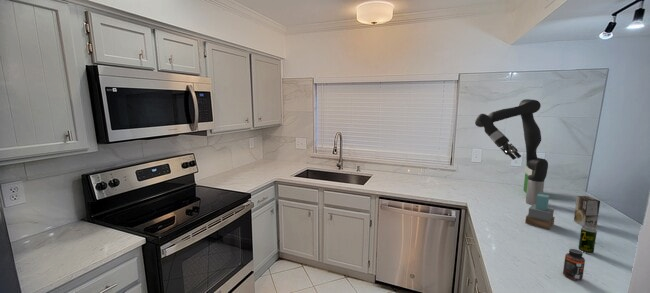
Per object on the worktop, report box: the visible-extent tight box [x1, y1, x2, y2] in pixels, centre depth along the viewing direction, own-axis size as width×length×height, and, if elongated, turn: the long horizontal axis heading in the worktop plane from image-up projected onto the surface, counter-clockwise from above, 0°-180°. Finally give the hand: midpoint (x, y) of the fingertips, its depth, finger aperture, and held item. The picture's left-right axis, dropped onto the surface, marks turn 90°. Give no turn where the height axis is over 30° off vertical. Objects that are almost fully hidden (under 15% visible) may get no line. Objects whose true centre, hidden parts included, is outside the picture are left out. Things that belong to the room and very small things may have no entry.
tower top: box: [527, 204, 555, 222], centre depth 159 cm, size 10×10×5 cm
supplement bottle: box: [562, 248, 586, 281], centre depth 110 cm, size 6×6×11 cm
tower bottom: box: [524, 214, 555, 231], centre depth 160 cm, size 11×11×5 cm
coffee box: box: [573, 195, 601, 229], centre depth 158 cm, size 9×6×16 cm
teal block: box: [536, 193, 550, 211], centre depth 158 cm, size 5×5×8 cm
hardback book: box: [523, 163, 535, 194], centre depth 213 cm, size 18×7×24 cm, turn 156°
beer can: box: [578, 225, 598, 254], centre depth 129 cm, size 5×5×12 cm
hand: (517, 158), depth 171 cm, fingers open, 8 cm apart
